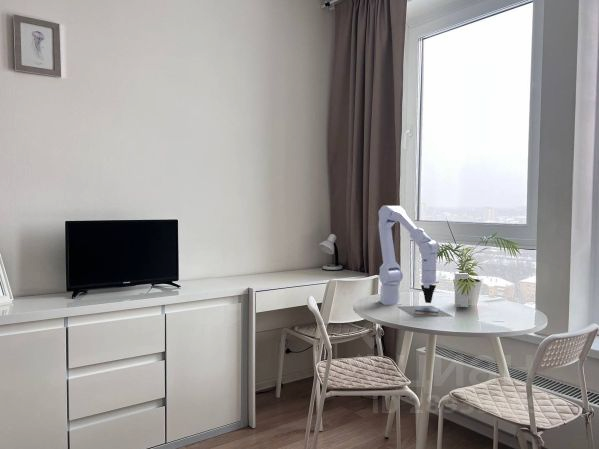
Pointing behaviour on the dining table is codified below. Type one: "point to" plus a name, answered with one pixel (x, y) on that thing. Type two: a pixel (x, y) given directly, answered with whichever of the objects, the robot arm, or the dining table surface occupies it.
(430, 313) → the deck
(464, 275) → the skincare box
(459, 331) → the dining table surface
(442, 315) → the mat
